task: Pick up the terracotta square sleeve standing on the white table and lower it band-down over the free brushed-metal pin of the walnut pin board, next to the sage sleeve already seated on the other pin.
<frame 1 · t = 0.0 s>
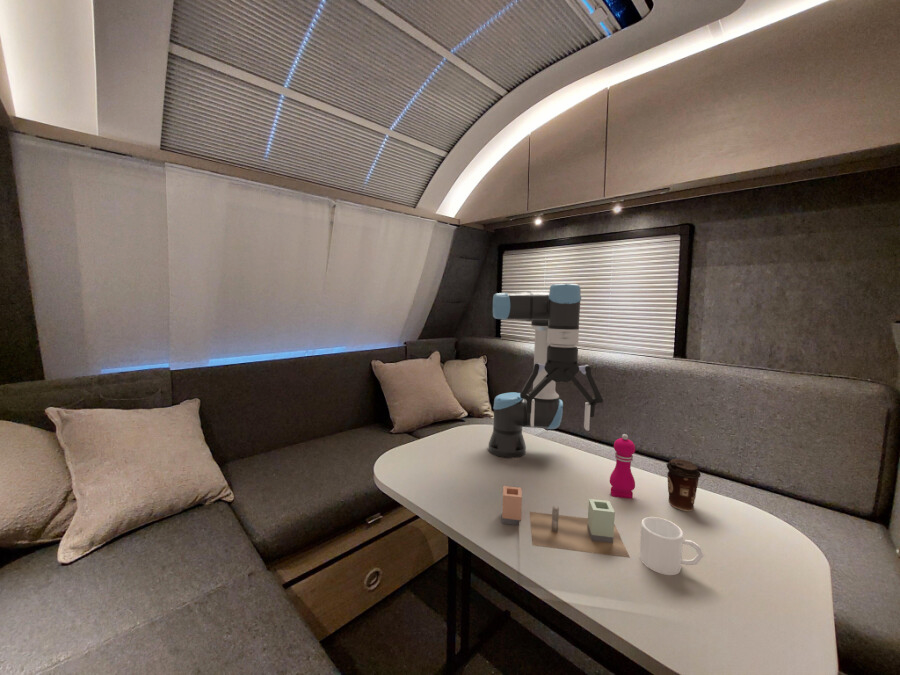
hand: (558, 426, 91), 28 cm above the table, fingers open, 13 cm apart
pin board: (574, 537, 90), on the table
coffee cup: (680, 505, 106), on the table
mug: (669, 572, 79), on the table
pepper mill: (621, 496, 111), on the table
terracotta sleeve: (511, 518, 98), on the table
sage sleeve: (599, 535, 89), point 1 cm above the table, touching pin board
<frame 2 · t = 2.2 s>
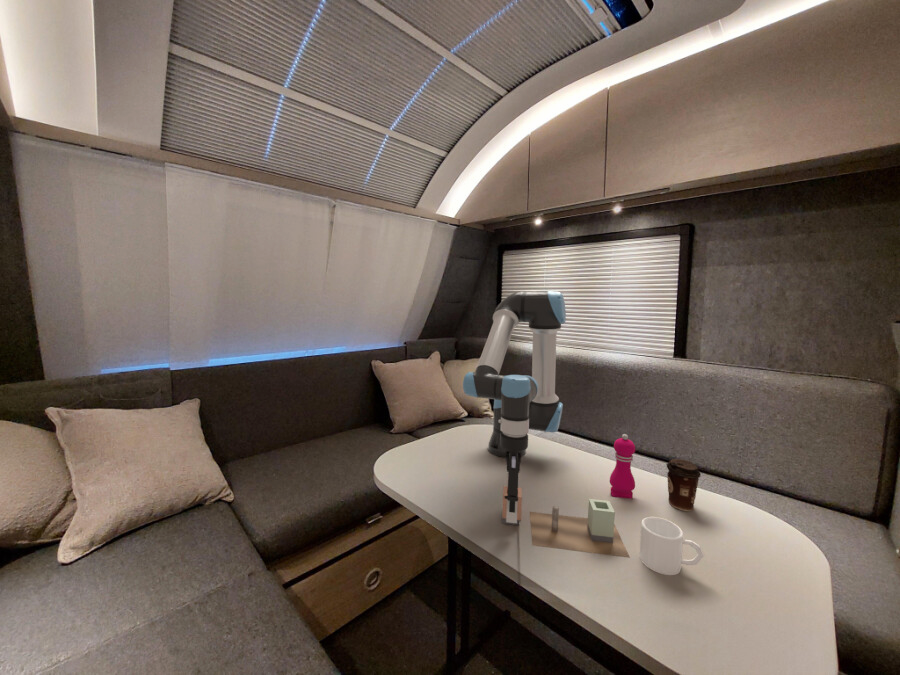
hand: (511, 507, 97), 3 cm above the table, fingers open, 13 cm apart
nothing on the table moved.
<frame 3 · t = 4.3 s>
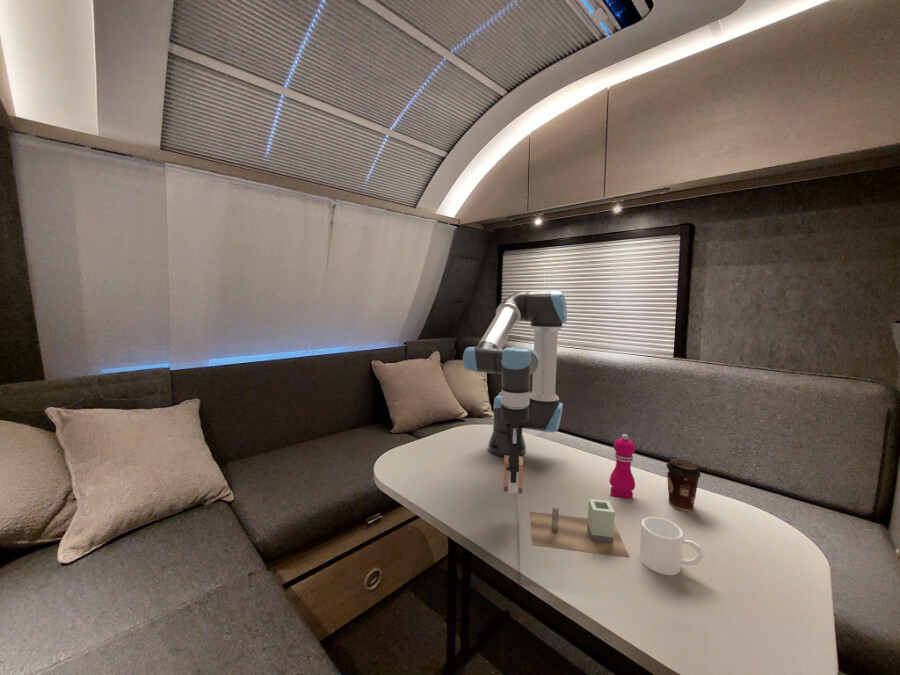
hand: (513, 486, 98), 9 cm above the table, fingers closed on terracotta sleeve, 5 cm apart
terracotta sleeve: (512, 487, 98), point 9 cm above the table, touching gripper
everything else where it was.
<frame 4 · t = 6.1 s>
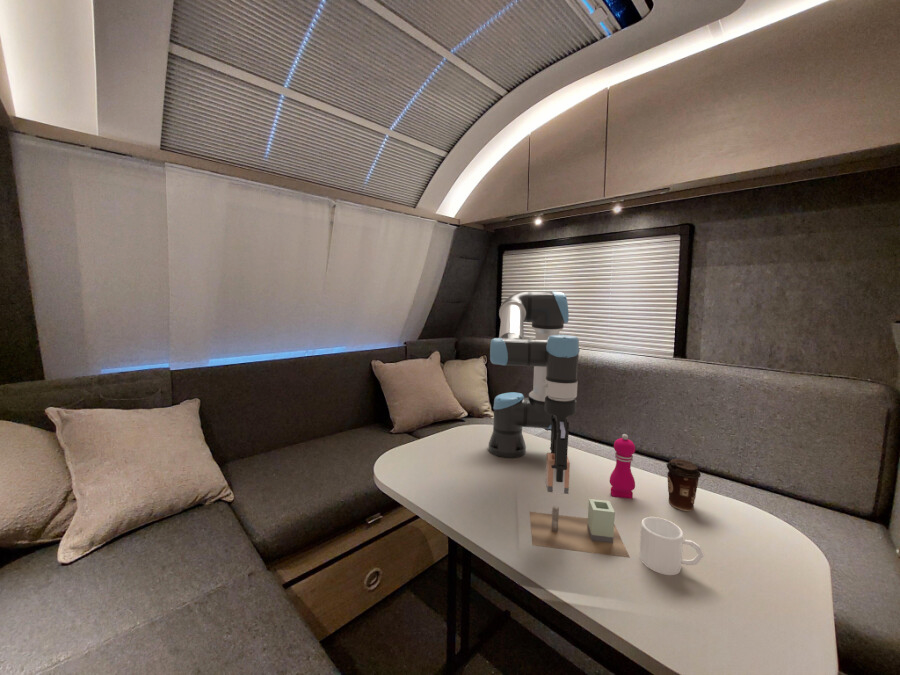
hand: (556, 486, 90), 13 cm above the table, fingers closed on terracotta sleeve, 5 cm apart
terracotta sleeve: (556, 487, 90), point 13 cm above the table, touching gripper
everything else where it was.
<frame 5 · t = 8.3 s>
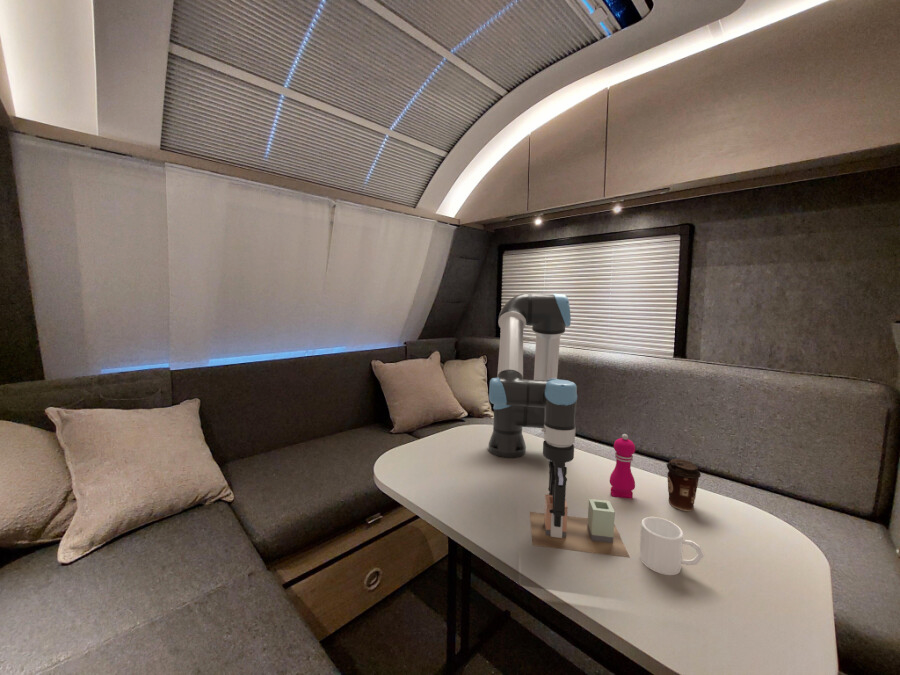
hand: (554, 529, 91), 2 cm above the table, fingers closed on terracotta sleeve, 5 cm apart
terracotta sleeve: (554, 530, 91), point 2 cm above the table, touching gripper
everything else where it was.
when the fingers open (2 cm above the table, at t = 8.4 s): terracotta sleeve stays where it is, resting on pin board.
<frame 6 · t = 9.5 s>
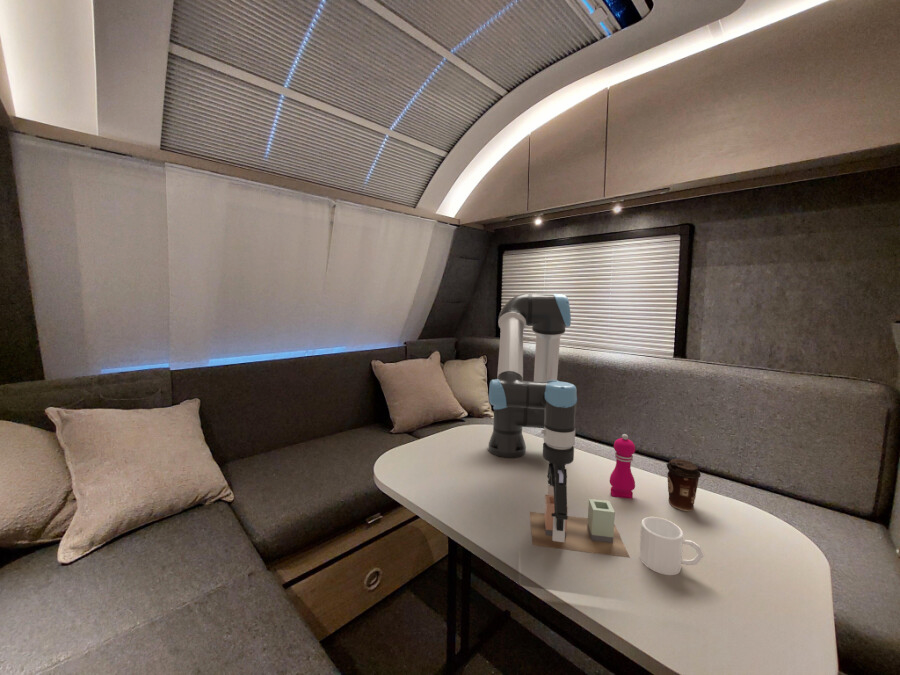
hand: (555, 523, 91), 3 cm above the table, fingers open, 13 cm apart
terracotta sleeve: (554, 530, 91), point 1 cm above the table, touching pin board
everything else where it was.
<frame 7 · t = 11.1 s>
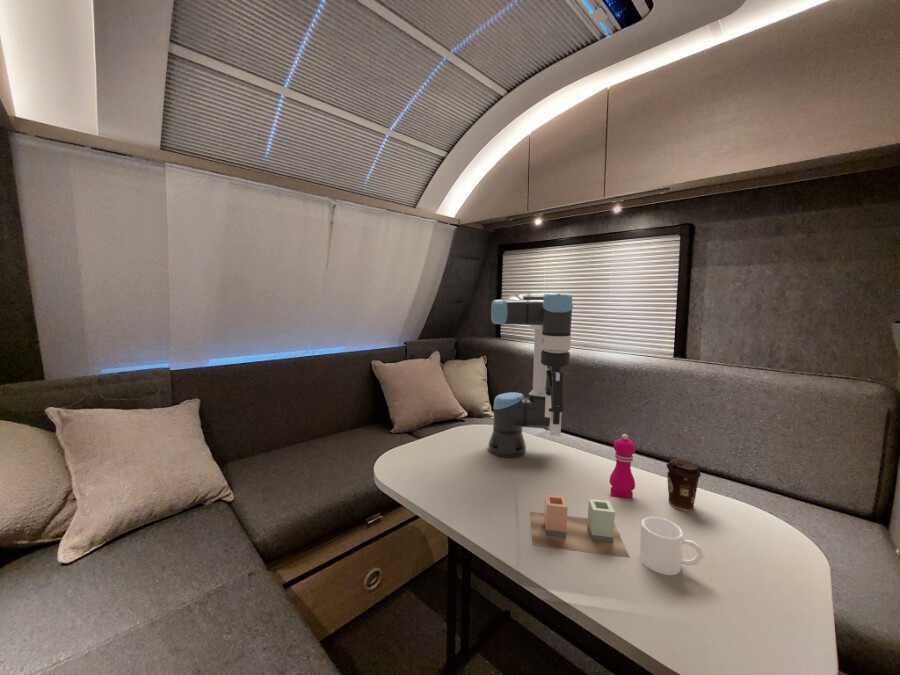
hand: (552, 425, 99), 26 cm above the table, fingers open, 13 cm apart
nothing on the table moved.
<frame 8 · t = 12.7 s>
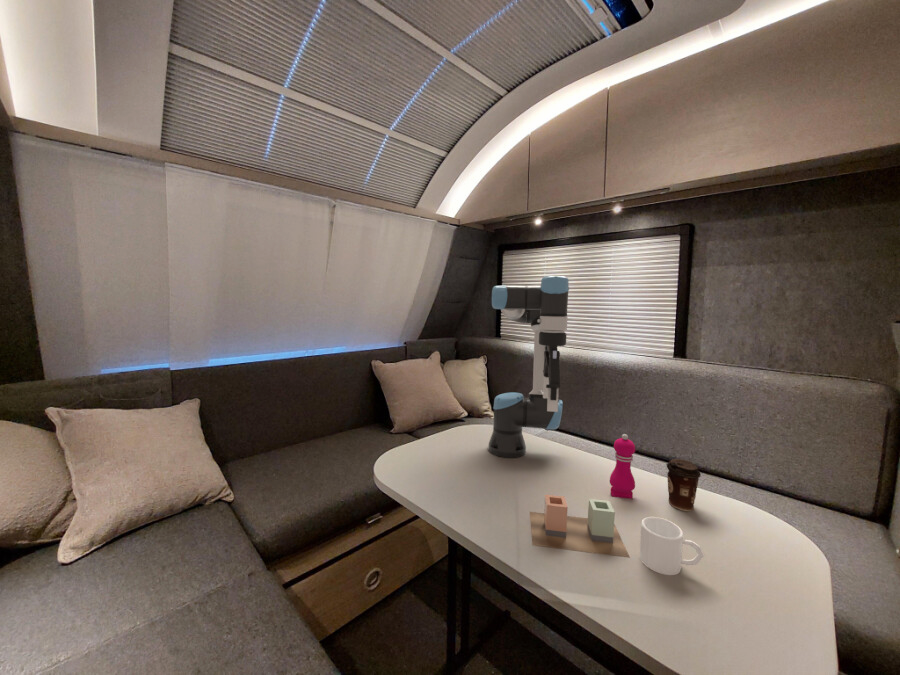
hand: (549, 404, 102), 31 cm above the table, fingers open, 13 cm apart
nothing on the table moved.
at the end: terracotta sleeve 0.1 cm from the target spot on the pin board, point 1.5 cm above the pin board's base; terracotta sleeve tilted 0°; the gripper is holding nothing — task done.
